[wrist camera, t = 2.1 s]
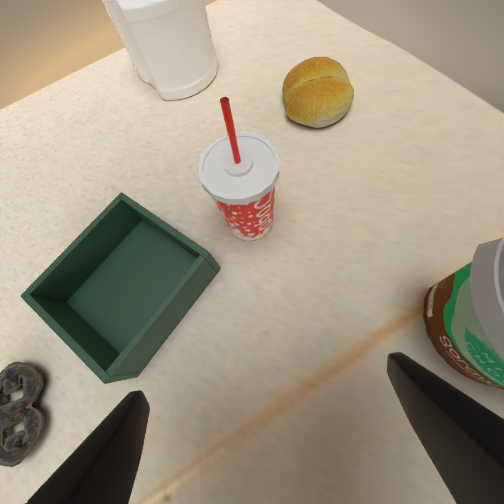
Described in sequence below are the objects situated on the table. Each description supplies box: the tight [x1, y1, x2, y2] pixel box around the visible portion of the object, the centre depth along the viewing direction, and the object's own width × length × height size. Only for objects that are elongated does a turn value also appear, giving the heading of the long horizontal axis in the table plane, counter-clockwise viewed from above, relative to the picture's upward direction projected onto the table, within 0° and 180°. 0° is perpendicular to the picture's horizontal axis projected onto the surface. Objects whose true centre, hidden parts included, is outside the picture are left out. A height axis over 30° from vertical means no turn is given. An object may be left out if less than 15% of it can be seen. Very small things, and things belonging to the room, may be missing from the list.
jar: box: [101, 0, 218, 100], centre depth 29 cm, size 12×10×15 cm
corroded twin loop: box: [0, 362, 45, 467], centre depth 22 cm, size 5×8×1 cm, turn 23°
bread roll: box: [282, 57, 354, 128], centre depth 30 cm, size 8×9×4 cm
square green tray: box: [21, 192, 221, 384], centre depth 23 cm, size 12×11×4 cm
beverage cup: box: [197, 97, 280, 241], centre depth 20 cm, size 6×6×14 cm
